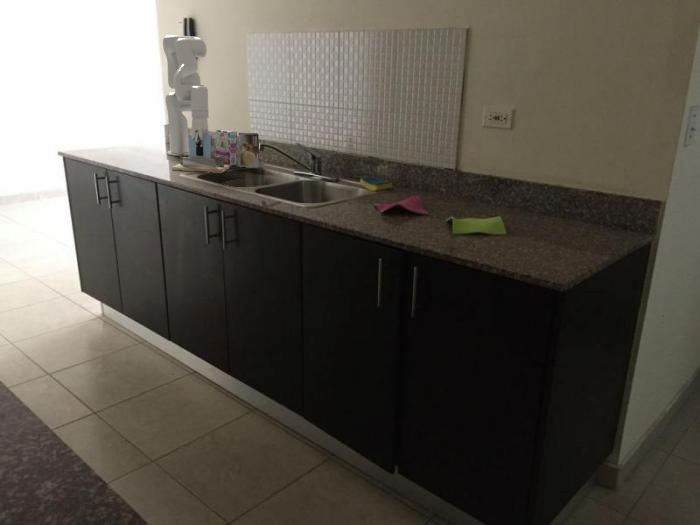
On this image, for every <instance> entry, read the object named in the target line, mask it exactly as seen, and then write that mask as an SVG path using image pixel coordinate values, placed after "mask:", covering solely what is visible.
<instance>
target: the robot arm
mask: <svg viewBox="0 0 700 525" xmlns="http://www.w3.org/2000/svg"><path fill="white" fill-rule="evenodd" d="M162 48H163V52H164V54H165V55H164V56H165V57H166V60H167V82H168V87H169V88H170V89H171V90H174V91H173V92H168V93H167V94H166V95H165V106H166V110H167V118H168V132H169V133H168V134H169V136H168V137H169V150H168V151H167V152H166V153H167V155H169V156H176V157H180V153H183V154H184V157H186V156H188V155H189V126H188V118H187V117H186V116H185V115H184V113H183V112H191V118H192V120H191V134H192V139H193V140H195V143H196V155H197V156H203V147H202V140H204V135H207V134H208V135H209V123H208V119H209V117H210V116H209V90H208V87H207V86H205V85H203V84H201V76H200V74H199V73H198V72H197V71H198V69H199V63H198V60H197V58H201V59H202V58H205V57H206V56H207V45H206V42H205V41H204V39H202V38H200V37H199V36H191V35H190V36H189V35H175V34H170V35H169V34H168V35H166V36H164V37H163V39H162ZM198 139H200V140H198ZM199 141H200V142H199Z"/></svg>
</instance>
